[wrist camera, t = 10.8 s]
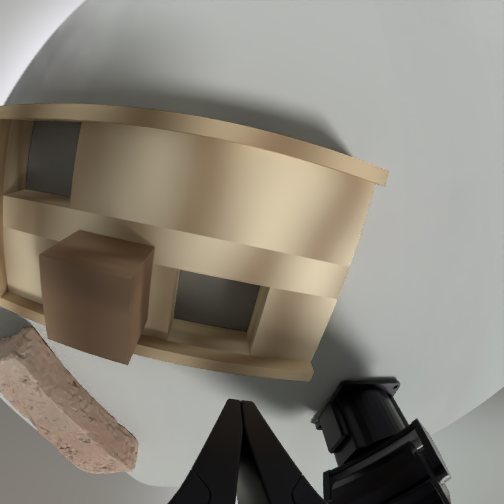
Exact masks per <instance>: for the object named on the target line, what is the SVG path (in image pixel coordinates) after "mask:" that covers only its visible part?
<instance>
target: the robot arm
mask: <svg viewBox="0 0 504 504" xmlns="http://www.w3.org/2000/svg"><path fill="white" fill-rule="evenodd" d="M399 387H400V383H399V381H397V380H393V381H344V382H342V383H341V384H340V385H339V387H338V388H337V390H336V392H335V394H334V395H333V397H332V399H331V400H330V402H329V403H328V405H327V407H326V408H325V410H324V411H323V413H322V415H321V416H320V418H319V420H318V421H317V423H316V424H315V426H316V429H317V430H322V431H323V434H324V437H325V441H326V444H327V447H328V451H329V452H330V453H334V455H335V458H336V461H337V465H338V467H336V468H334V469H332V470H328V471H326V472H323V493H324V499H323V498H322V497H321V496H319V494H318V493H317V492H316V491H315V490H314V489H313V487H312V486H311V485H310V483H309V482H308V481H307V479H306V478H305V477H304V475H302V473H301V471H300V470H299V469H298V467H297V466H296V465H295V463H294V462H293V460H292V459H291V458H290V456H289V455H288V453H287V452H286V450H285V449H284V448H283V446H282V445H281V443H280V442H279V440H278V439H277V437H276V436H275V434H274V433H273V432H272V430H271V429H270V427H269V426H268V424H267V422H266V421H265V419H264V418H263V416H262V415H261V413H260V412H259V410H258V409H257V407H256V406H255V404H254V403H253V402H252V401H244V400H242V401H240V400H236V399H228V400H227V402H226V404H225V406H224V408H223V410H222V412H221V414H220V416H219V418H218V420H217V421H216V423H215V425H214V427H213V429H212V431H211V433H210V435H209V437H208V439H207V441H206V443H205V444H204V446H203V448H202V450H201V452H200V454H199V456H198V457H197V459H196V461H195V463H194V465H193V467H192V469H191V470H190V472H189V474H188V475H187V477H186V479H185V481H184V482H183V484H182V485H181V487H180V489H179V490H178V491H177V493H176V494H175V495H174V496H173V498H172V499H171V500H170V501H169V503H168V504H235V501H236V492H237V500H238V504H451V502H450V495H449V491H448V489H447V487H446V485H445V482H446V481H448V480H449V479H451V476H450V474H449V471H448V469H447V467H446V465H445V463H444V461H443V459H442V456H441V454H440V452H439V450H438V449H437V447H436V445H435V444H434V442H433V440H432V439H431V437H430V435H429V434H428V432H427V431H426V429H425V428H424V427H423V426H422V424H421V423H420V422H419V420H418V419H415V420H414V421H412V422H411V424H410V425H409V424H408V422H407V421H406V419H405V417H404V415H403V414H402V412H401V410H400V408H399V407H398V405H397V403H396V401H395V400H394V398H393V396H394V394H395V393H396V391H397V390H398V388H399ZM421 445H423V447H422V448H420V449H418V450H417V448H418V447H420V446H421Z"/></svg>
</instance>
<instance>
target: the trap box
mask: <svg viewBox="0 0 504 504" xmlns="http://www.w3.org/2000/svg"><path fill="white" fill-rule="evenodd" d="M34 121H60V122H79V123H82V124H81V129H80V134H79V139H78V145H77V150H76V157H75V163H74V171H73V179H72V188H71V197H67V196H62V195H56V194H51V193H45V192H39V191H34V190H28V189H25V188H26V175H27V165H28V157H29V149H30V142H31V136H32V130H33V125H34ZM388 173H389V171H388V170H385V169H383V168H380V167H378V166H375V165H373V164H370V163H367V162H365V161H362V160H359V159H356V158H354V157H351V156H348V155H345V154H342V153H339V152H336V151H333V150H330V149H327V148H324V147H321V146H318V145H315V144H311V143H308V142H305V141H301V140H298V139H295V138H291V137H287V136H284V135H280V134H276V133H273V132H269V131H265V130H261V129H257V128H253V127H248V126H244V125H240V124H235V123H230V122H226V121H221V120H216V119H210V118H205V117H200V116H194V115H188V114H182V113H175V112H168V111H161V110H153V109H145V108H135V107H125V106H113V105H97V104H67V103H48V104H20V105H6V106H0V307H3V308H5V309H7V310H9V311H11V312H14V313H16V314H18V315H21V316H23V317H25V318H28V319H30V320H33V321H35V322H38V323H40V324H43V325H45V326H46V324H45V317H44V310H43V302H42V293H41V282H40V267H39V254H41V253H42V252H44V251H45V250H47V249H49V248H50V247H52V246H53V245H55V244H57V243H58V242H60V241H61V240H63V239H65V238H66V237H68V236H70V235H71V234H73V233H75V232H76V231H78V230H83V231H87V232H92V233H96V234H100V235H105V236H109V237H114V238H118V239H123V240H127V241H132V242H136V243H141V244H145V245H150V246H154V247H155V251H154V259H153V267H152V276H151V285H150V295H149V306H148V319H147V322H146V324H145V327H144V329H143V331H142V333H141V336H140V338H139V340H138V343H137V345H136V347H135V350H134V352H133V354H137V355H141V356H145V357H149V358H153V359H157V360H162V361H166V362H171V363H176V364H181V365H186V366H191V367H196V368H201V369H207V370H213V371H219V372H225V373H232V374H239V375H247V376H255V377H263V378H273V379H283V380H295V381H309V382H310V380H311V378H312V376H313V374H314V370H313V367H312V364H311V361H312V358H313V356H314V354H315V352H316V350H317V347H318V345H319V343H320V340H321V338H322V336H323V334H324V331H325V329H326V326H327V324H328V322H329V319H330V317H331V314H332V312H333V309H334V307H335V304H336V302H337V299H338V297H339V294H340V291H341V289H342V286H343V284H344V281H345V278H346V275H347V273H348V270H349V267H350V264H351V262H352V259H353V256H354V253H355V250H356V247H357V244H358V241H359V238H360V235H361V232H362V229H363V226H364V222H365V219H366V216H367V213H368V209H369V206H370V203H371V199H372V196H373V192H374V189H375V185H376V184H378V185H382V186H385V184H386V181H387V177H388ZM180 270H185V271H190V272H195V273H200V274H205V275H210V276H215V277H219V278H224V279H230V280H235V281H240V282H245V283H250V284H255V285H261V286H260V289H259V293H258V296H257V300H256V303H255V307H254V310H253V314H252V317H251V321H250V324H249V328H248V331H247V332H244V331H238V330H232V329H226V328H220V327H215V326H210V325H204V324H199V323H194V322H189V321H184V320H180V319H175V318H174V312H175V304H176V297H177V290H178V283H179V277H180Z"/></svg>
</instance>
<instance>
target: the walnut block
mask: <svg viewBox="0 0 504 504" xmlns="http://www.w3.org/2000/svg"><path fill="white" fill-rule="evenodd" d="M154 251H155V247H154V246H150V245H145V244H141V243H136V242H132V241H127V240H123V239H118V238H114V237H109V236H105V235H100V234H96V233H92V232H87V231H83V230H78V231H76V232H75V233H73V234H71V235H70V236H68V237H66V238H65V239H63V240H61V241H60V242H58V243H57V244H55V245H53V246H52V247H50V248H49V249H47V250H45V251H44V252H42V253H41V254H39V267H40V282H41V293H42V302H43V310H44V317H45V324H46V330H47V336H48V339H50V340H53V341H56V342H58V343H61V344H64V345H66V346H69V347H72V348H75V349H78V350H80V351H83V352H86V353H89V354H92V355H96V356H99V357H102V358H105V359H108V360H112V361H115V362H119V363H122V364H126V365H128V364H129V361H130V359H131V357H132V354H133V352H134V350H135V347H136V345H137V343H138V340H139V338H140V336H141V333H142V331H143V329H144V327H145V324H146V322H147V319H148V306H149V295H150V285H151V276H152V267H153V259H154Z"/></svg>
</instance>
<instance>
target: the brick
mask: <svg viewBox="0 0 504 504" xmlns="http://www.w3.org/2000/svg"><path fill="white" fill-rule="evenodd" d="M0 392H1V393H2V394H3V396H4V397H5V398H6V399H7V400H9V401H10V403H11V404H12V405H13V406H14V407H15V408H16V409H17V410H18V411H19V412H20V413H21V414H22V415H23V416H24V417H26V418H28V419H30V421H31V422H32V424H33V425H34V426H35V427H36V428H37V429H38V432H40V434H41V435H42V436H43V437H45V438H46V439H47V440H49V441H50V442H51V443H52V444H53V445H54V446H55V448H57V449H58V451H59V452H60V453H62V454H63V455H64V456H65V458H67V459H68V460H69V461H70V462H71V463H73V464H74V465H75V466H76V467H77V468H79V469H81V470H83V471H85V472H88V473H94V474H96V473H98V474H103V473H116V472H121V471H130V472H132V470H133V469H134V468H135V464H136V460H137V452H138V444H139V443H138V442H137V440H136V439H135V438H134V437H133V436H132V435H131V434H130V433H129V432H128V431H127V430H126V429H125V428H124V427H123V426H121V425H120V424H118V423H117V420H116V419H115V418H114V417H112V416H110V415H109V414H108V412H107V411H106V410H105V409H104V408H103V407H102V406H101V405H100V404H99V403H98V402H97V401H96V400H95V399H94V398H93V397H92V396H90V394H89V393H88V392H87V391H86V390H85V389H84V388H83V387H82V386H81V385H80V384H79V383H78V381H77V380H76V379H75V378H74V377H73V376H72V375H71V373H70V372H69V371H68V370H67V369H66V368H65V367H64V366H63V364H62V363H61V362H60V360H59V359H58V358H57V357H56V355H55V354H54V353H53V352H52V351H51V349H50V348H49V347H48V346H47V345H46V344H45V343H44V341H43V340H42V339H41V337H40V336H39V334H38V333H37V332H36V330H35V329H34V328H32V327H27V328H22V329H21V331H20V332H18V333H17V334H15V335H13V336H12V337H11V336H9V337H8V338H7V337H5V338H3V339H2V340H0Z"/></svg>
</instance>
